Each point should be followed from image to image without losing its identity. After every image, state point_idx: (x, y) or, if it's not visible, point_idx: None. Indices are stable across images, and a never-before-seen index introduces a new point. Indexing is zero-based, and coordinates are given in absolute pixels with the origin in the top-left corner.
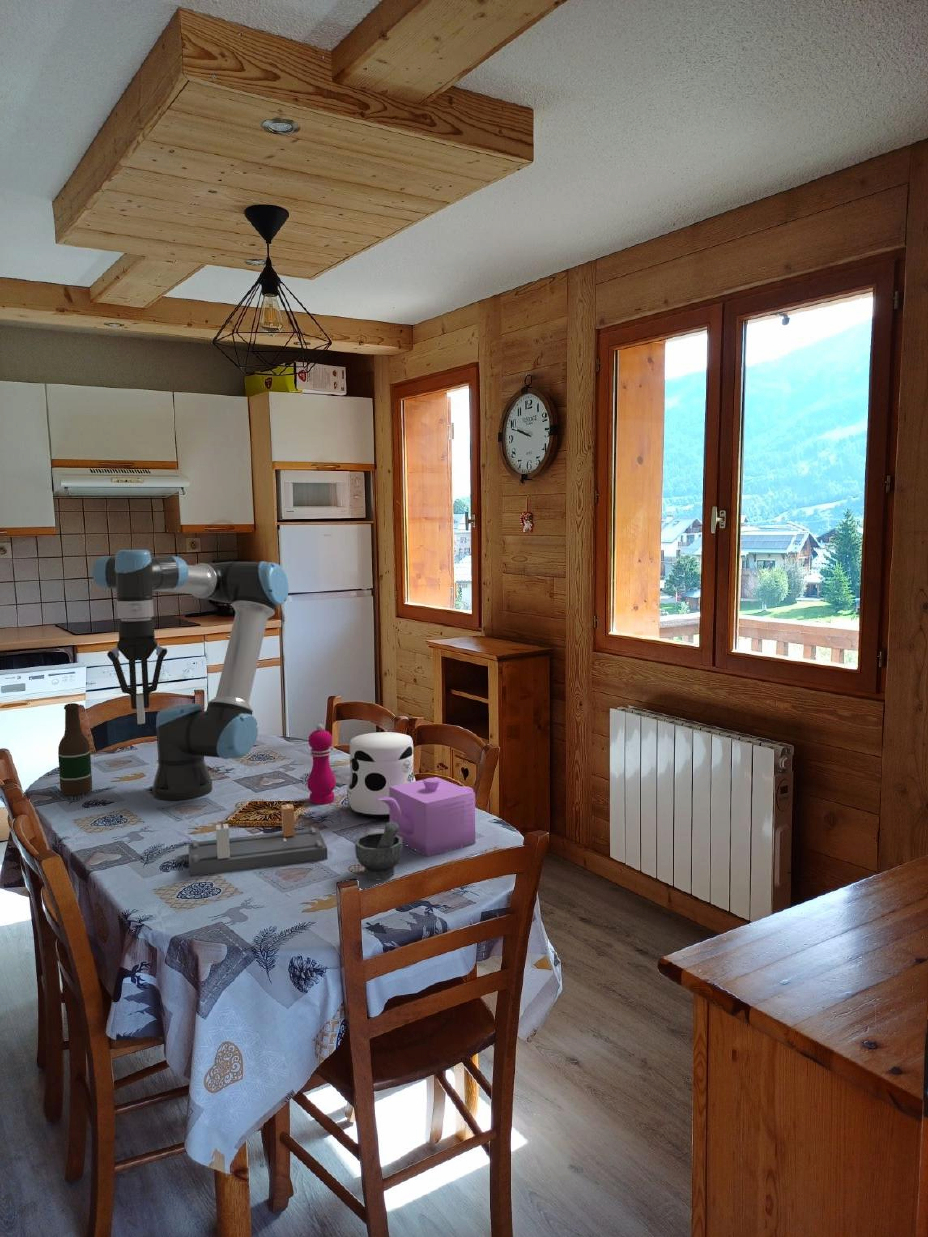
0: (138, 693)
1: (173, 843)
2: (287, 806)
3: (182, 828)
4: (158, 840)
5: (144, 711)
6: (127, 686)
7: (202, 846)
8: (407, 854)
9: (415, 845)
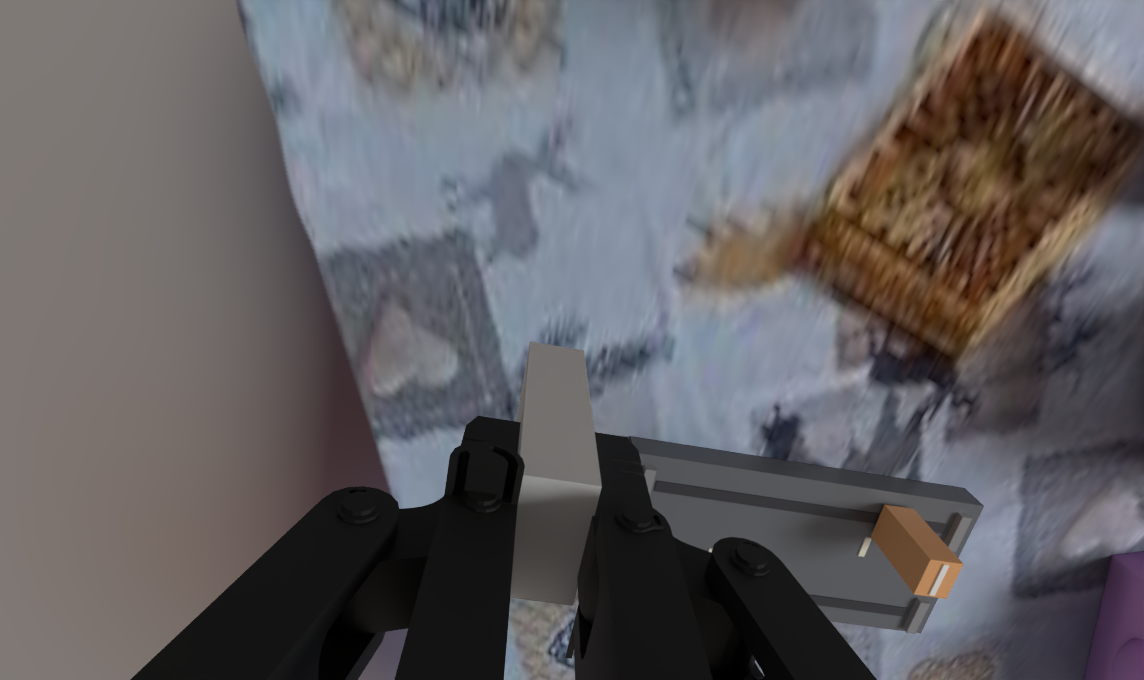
0: (539, 484)
1: (610, 337)
2: (937, 583)
3: (669, 211)
4: (575, 288)
5: (587, 390)
6: (384, 539)
7: (661, 495)
8: (1060, 658)
9: (1100, 659)
